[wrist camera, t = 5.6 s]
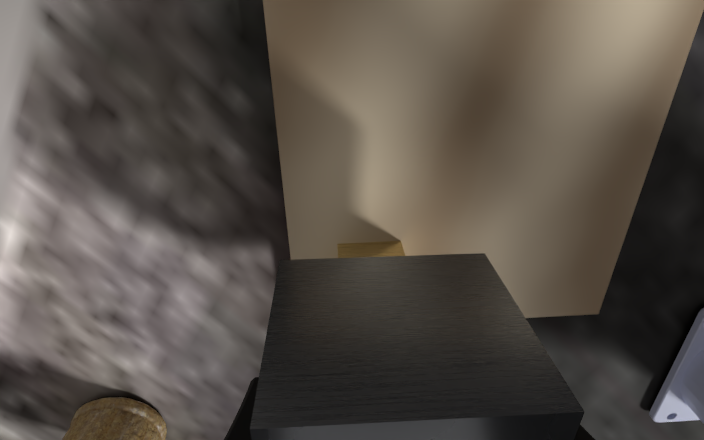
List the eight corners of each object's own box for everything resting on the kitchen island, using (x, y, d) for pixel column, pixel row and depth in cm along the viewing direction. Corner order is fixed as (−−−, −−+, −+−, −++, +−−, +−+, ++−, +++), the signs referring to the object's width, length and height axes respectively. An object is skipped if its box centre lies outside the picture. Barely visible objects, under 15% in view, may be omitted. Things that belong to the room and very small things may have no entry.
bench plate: (692, -35, 13) (719, -38, 12) (585, 299, 19) (598, 314, 18) (264, -27, 12) (259, -29, 11) (299, 314, 18) (298, 330, 18)
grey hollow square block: (484, 253, 11) (584, 411, 7) (460, 393, 14) (521, 573, 10) (279, 260, 11) (249, 429, 7) (294, 401, 14) (279, 590, 9)
